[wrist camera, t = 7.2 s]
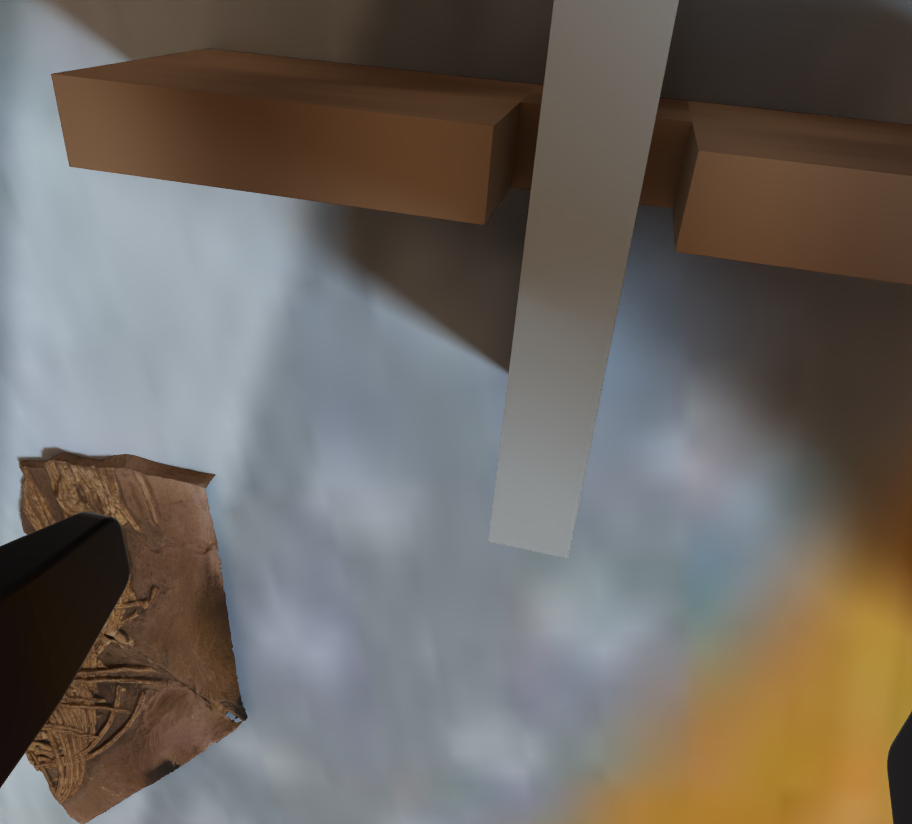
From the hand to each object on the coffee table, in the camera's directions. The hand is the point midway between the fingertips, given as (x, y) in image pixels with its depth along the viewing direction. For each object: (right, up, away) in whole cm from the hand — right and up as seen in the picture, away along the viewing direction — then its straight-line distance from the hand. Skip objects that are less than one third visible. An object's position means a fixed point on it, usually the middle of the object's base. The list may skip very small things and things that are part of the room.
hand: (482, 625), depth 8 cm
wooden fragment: (-14, -8, +22) cm, 28 cm away
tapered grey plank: (+3, +8, +7) cm, 11 cm away
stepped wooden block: (+3, +8, +7) cm, 11 cm away
